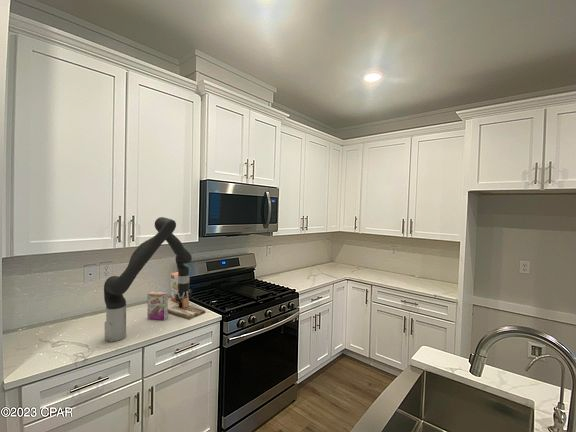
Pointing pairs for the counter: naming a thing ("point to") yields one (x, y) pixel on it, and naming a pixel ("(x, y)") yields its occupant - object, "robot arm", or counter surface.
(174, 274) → the cracker box
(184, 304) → the tan block
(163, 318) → the candy bar box
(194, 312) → the board
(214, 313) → the counter surface
